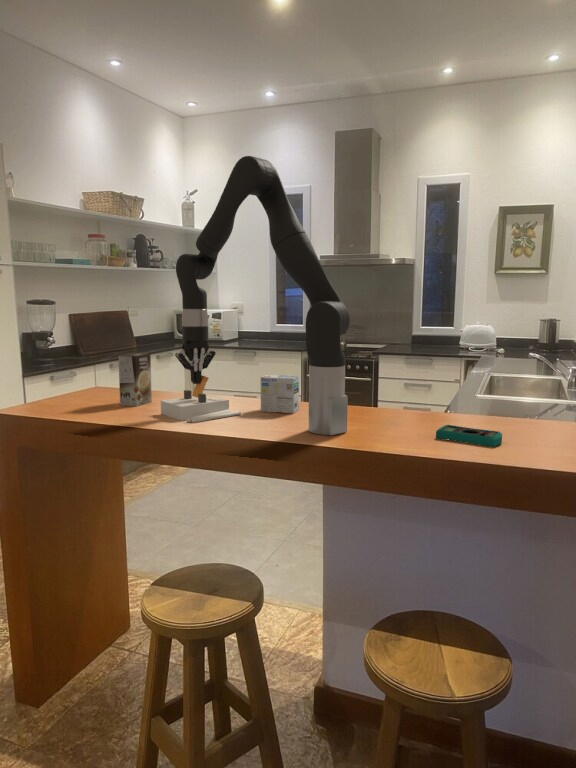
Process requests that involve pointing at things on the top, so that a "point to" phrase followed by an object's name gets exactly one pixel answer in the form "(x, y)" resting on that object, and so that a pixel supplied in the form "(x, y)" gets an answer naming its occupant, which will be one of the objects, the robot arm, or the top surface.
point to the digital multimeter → (470, 435)
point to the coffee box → (135, 379)
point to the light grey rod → (216, 416)
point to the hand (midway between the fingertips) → (196, 383)
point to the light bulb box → (280, 393)
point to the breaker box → (193, 406)
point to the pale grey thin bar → (208, 415)
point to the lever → (200, 387)
